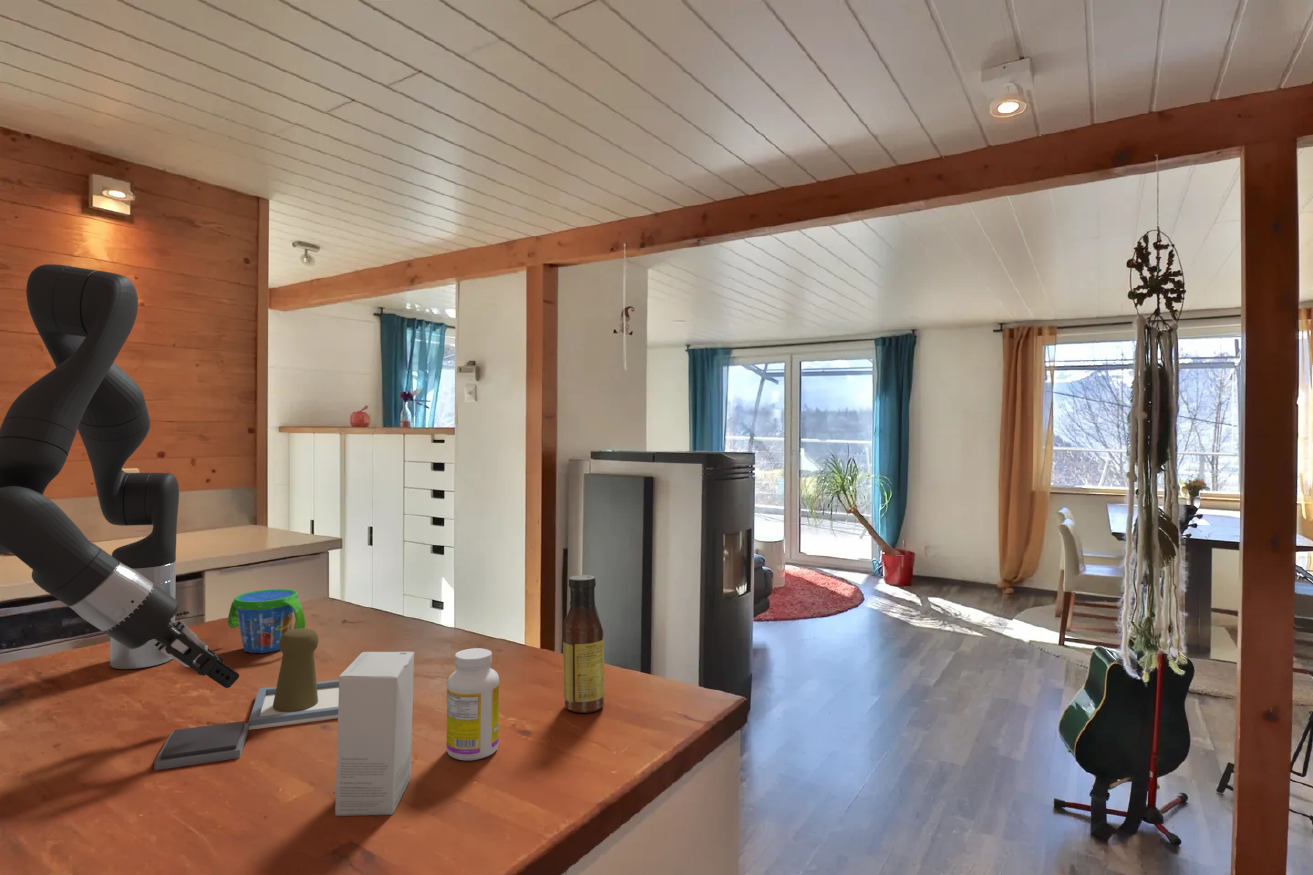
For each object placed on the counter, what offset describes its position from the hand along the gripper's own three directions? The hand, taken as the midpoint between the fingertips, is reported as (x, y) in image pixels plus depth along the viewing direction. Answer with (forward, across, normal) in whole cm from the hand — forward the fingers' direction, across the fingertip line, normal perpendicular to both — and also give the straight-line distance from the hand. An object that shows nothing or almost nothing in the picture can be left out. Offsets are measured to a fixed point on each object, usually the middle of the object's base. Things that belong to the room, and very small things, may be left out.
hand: (225, 673), depth 99 cm
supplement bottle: (+21, -30, -10) cm, 38 cm away
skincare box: (+11, -33, 0) cm, 35 cm away
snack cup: (+15, +34, -5) cm, 37 cm away
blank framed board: (+12, 0, -2) cm, 13 cm away
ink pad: (+3, -6, +8) cm, 10 cm away
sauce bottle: (+35, -28, -24) cm, 51 cm away
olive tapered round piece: (+11, 0, -2) cm, 11 cm away
